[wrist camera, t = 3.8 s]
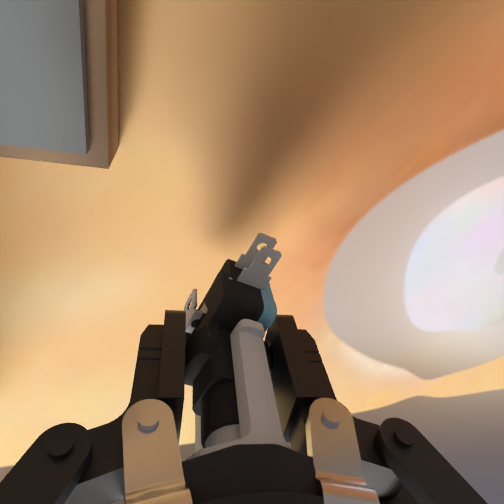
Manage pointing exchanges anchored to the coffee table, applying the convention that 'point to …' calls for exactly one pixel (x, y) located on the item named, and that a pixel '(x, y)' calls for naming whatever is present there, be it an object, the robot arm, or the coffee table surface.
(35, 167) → the coffee table surface
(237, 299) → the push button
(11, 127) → the tray
